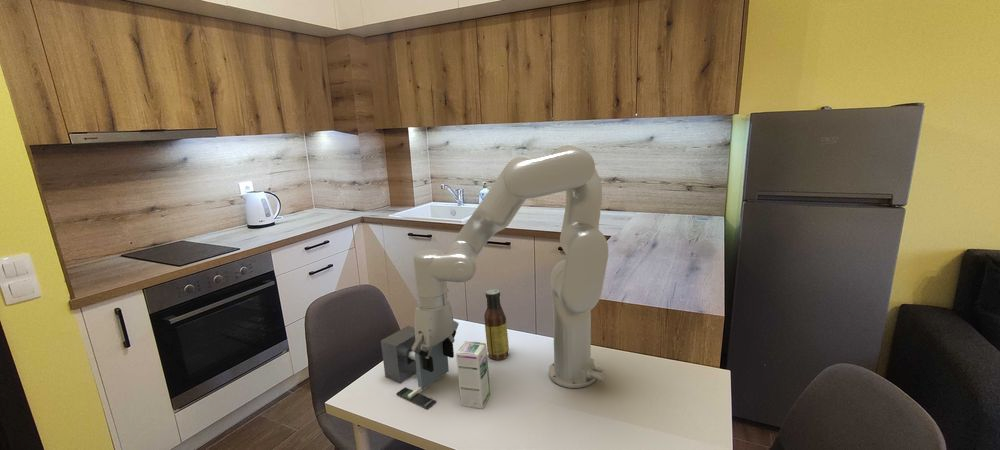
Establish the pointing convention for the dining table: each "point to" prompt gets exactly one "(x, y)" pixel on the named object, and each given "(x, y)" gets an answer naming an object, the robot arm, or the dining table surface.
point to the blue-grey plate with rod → (439, 367)
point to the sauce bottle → (495, 326)
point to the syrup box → (473, 374)
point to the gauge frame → (402, 363)
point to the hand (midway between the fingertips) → (438, 362)
